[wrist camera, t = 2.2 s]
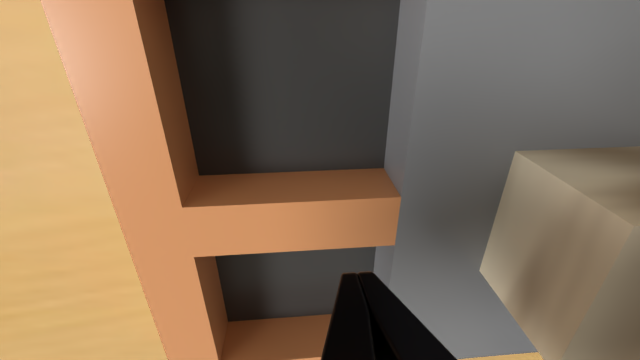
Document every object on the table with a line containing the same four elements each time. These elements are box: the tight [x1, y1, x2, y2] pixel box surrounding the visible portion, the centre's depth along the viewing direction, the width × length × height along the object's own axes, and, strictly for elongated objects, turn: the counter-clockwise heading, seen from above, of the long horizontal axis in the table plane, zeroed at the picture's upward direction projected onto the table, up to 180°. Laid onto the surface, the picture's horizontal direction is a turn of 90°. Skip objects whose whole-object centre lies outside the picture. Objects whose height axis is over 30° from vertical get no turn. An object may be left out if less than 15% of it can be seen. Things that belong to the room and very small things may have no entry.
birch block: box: [479, 146, 640, 360], centre depth 10 cm, size 5×5×4 cm
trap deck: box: [40, 0, 640, 360], centre depth 11 cm, size 28×16×6 cm, turn 90°
